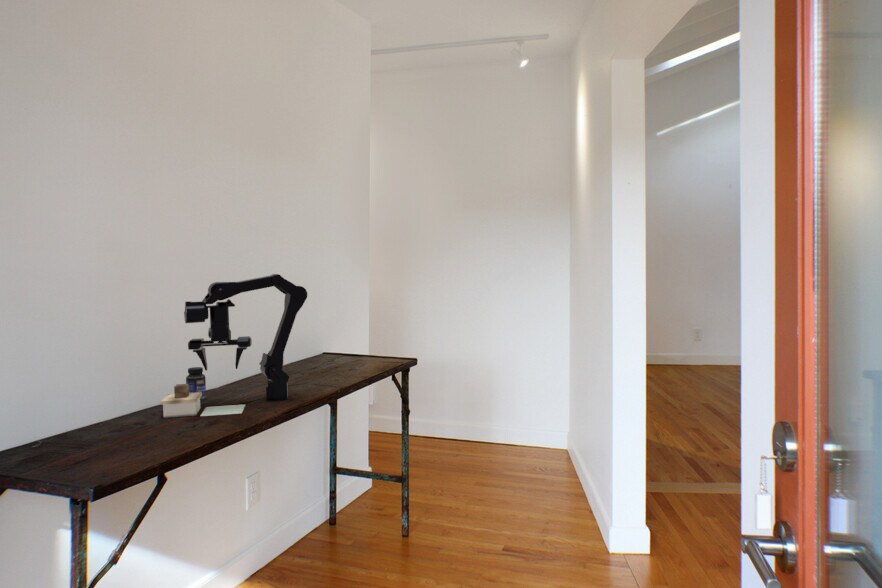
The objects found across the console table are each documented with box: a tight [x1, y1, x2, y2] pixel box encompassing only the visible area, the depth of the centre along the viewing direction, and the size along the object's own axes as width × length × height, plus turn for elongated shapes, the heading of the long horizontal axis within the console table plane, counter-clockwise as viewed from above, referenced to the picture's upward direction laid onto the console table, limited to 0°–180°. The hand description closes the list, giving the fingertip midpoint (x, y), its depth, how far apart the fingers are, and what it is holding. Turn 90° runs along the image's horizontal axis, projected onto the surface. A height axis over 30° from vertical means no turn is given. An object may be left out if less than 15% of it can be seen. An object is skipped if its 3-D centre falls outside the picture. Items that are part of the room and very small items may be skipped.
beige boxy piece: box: [162, 398, 201, 418], centre depth 189 cm, size 9×9×4 cm
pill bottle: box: [185, 366, 207, 402], centre depth 207 cm, size 6×6×11 cm
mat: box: [200, 404, 246, 417], centre depth 191 cm, size 12×12×1 cm
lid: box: [160, 383, 202, 406], centre depth 188 cm, size 10×10×4 cm
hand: (221, 369), depth 197 cm, fingers open, 9 cm apart
